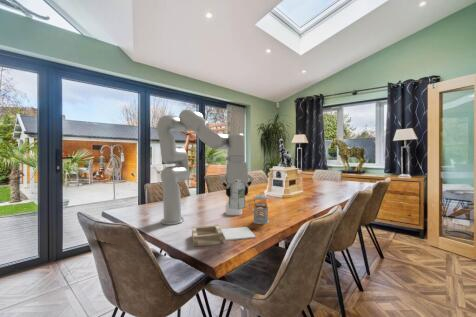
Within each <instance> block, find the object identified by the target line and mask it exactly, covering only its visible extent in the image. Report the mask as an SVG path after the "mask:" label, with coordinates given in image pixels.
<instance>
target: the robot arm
mask: <svg viewBox="0 0 476 317" xmlns="http://www.w3.org/2000/svg"><path fill="white" fill-rule="evenodd" d="M190 130H191V131H193V133H195V134H197V137H198V138H199V140H200V141H201V142H203V144H205V145H206V146H208V147H210V148H211V149H214V150H228V156H226V157H225V160H226V161H228V162H227V164H226V172H225V175H224V176H222V177H221V178H220V179H219V182H220V183H221V185H222V186H224V187H225V195H226V196H227V197H228V198H229V197H230V189H229V186H230V185H231V184H235V180H236V179H240V180H241V183H244V184H245V197H248V194H249V187H250V186H251V184H252V183H253V181H254V180H255V178H254V177H252V176H251V175H249V173H248V172H249V171H248V164H247V162H246V161H245V135H244V133H238V132H237V133H236V132H235V133H230V134H228V133H221V132H220V133H218V132H216V131H214V130H212V129H211V128H210V124H209V121H208V120H207V119H205V118H204V115H203V114H202V113H201V112H199V111H197V110H196V111H195V110H191V109H184V110H182V111H180V113H179V114H178V116H176V115H171V114H170V115H163V116H161V117H160V118H159V119H158V121H157V124H156V132H157V137H158V139H159V148H160V155H161V161H162V162H163V164H166V165H169V166H166V167H165V168H163V169H162V170H161V172H160V179H161V184H162V198H163V199H162V200H163V202H162V204H163V218H161V219H160V223H161V224H162V225H166V226H167V225H169V226H170V225H172V226H173V225H179V224H181V223H183V222H184V221H185V220H184V219H185V218H184V217H182V202H181V187H180V186H179V183H180V182H185V181H187V180H188V179H189V177H190V166H189V165H190V164H189V157H188V153H187V151H186V150H185V149H184V148H183V147H180V146H179V147H178V146H177V145H176V139H175V136H174V135H173V133H172V132H178V133H179V132H181V133H184V132H188V131H190ZM171 165H172V166H171ZM225 180H226V181H225ZM224 181H225V182H226V183H225V182H224Z"/></svg>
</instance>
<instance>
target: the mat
mask: <svg viewBox="0 0 476 317" xmlns="http://www.w3.org/2000/svg"><path fill="white" fill-rule="evenodd" d="M220 229H221V231H222V233H223V239H225V241H226V242H228V241H236V240H238V241H239V240H246V239H256V235H255V234H254V232H252V231H251V229H250V228H249V227H248V226H243V227H241V226H240V227H231V228H220Z"/></svg>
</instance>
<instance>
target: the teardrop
mask: <svg viewBox="0 0 476 317" xmlns="http://www.w3.org/2000/svg"><path fill="white" fill-rule="evenodd" d="M224 213H225V215H227V216H239V215H242V214H243V208H242V209H239V210H236V209H231V208H229V200H228V201H227V202H226V205H225V212H224Z"/></svg>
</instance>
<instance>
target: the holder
mask: <svg viewBox="0 0 476 317" xmlns="http://www.w3.org/2000/svg"><path fill="white" fill-rule="evenodd" d="M221 229H222V228H221V227H220V225H219V224H217V225H215V224H214V225H205V226H195V227H193V226H192V227H191V236H192V237H191V238H192V245H193V247H202V246H203V247H204V246H211V245H220V244H224V236H223V233H222V231H221Z"/></svg>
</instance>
